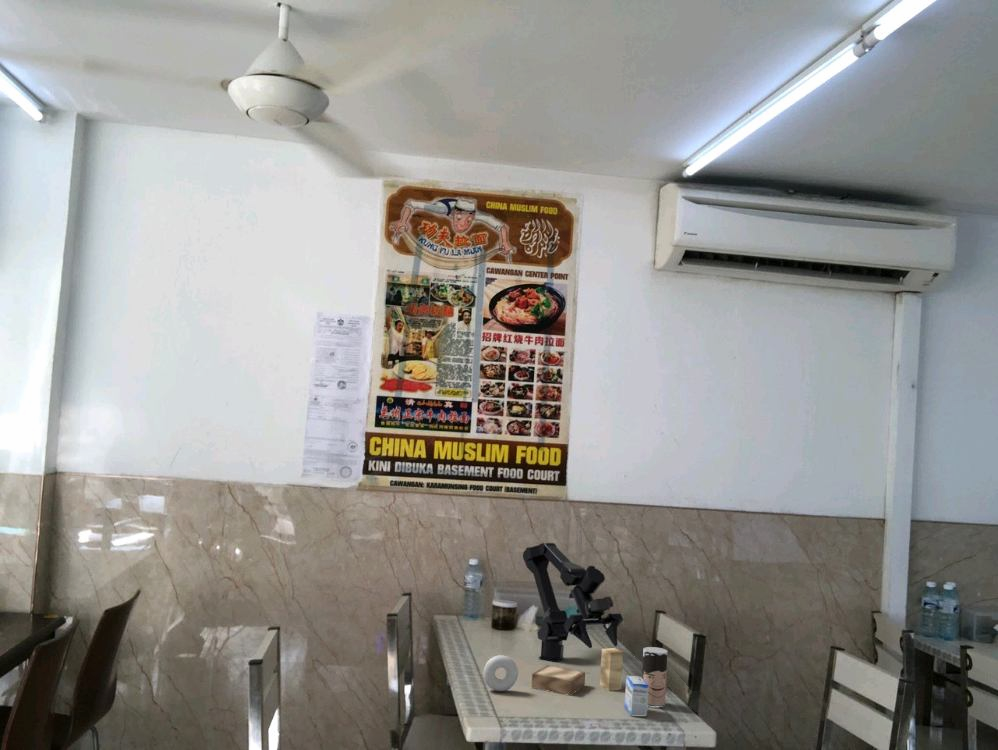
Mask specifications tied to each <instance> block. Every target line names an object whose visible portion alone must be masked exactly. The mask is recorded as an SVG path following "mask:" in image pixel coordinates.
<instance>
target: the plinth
mask: <svg viewBox="0 0 998 750" xmlns="http://www.w3.org/2000/svg"><path fill="white" fill-rule="evenodd" d="M531 676H532V677H531V687H535V688H539V689H538V690H540V689H544V690H543V691H545V690H549V691H548V692H550V691H553V692H552V693H555V692H560V693H564V694H563V695H565V694H568V695H567V696H572V695H573V694H575V693H576V692H578V691H579V690H581V689H582V688H584V687H585V686H584V685H586V671H582V670H576V669H571V668H566V667H560V666H554V665H549V664H548V665H547V664H546V665H545V666H544V667H542V668H540V669H538V670H536V671H535V672H533V673H532V674H531ZM583 686H584V687H583ZM581 687H582V688H581ZM535 688H534V689H535ZM580 688H581V689H580ZM578 689H579V690H578ZM577 690H578V691H577ZM575 691H576V692H575ZM574 692H575V693H574ZM560 693H559V694H560ZM572 693H573V694H572ZM571 694H572V695H571Z"/></svg>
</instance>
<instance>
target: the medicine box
mask: <svg viewBox="0 0 998 750" xmlns="http://www.w3.org/2000/svg"><path fill="white" fill-rule="evenodd" d="M625 677H626V678H625V693H624V705H623V707H624V709H625V708H626V709H627V710H626V709H625V710H626V711H627V712H628V714H629V713H630V714H631V715H647V716H648V707H647V704H648V688H649V686H648V684H647V683H646V682H645V681H644V680H643V678H642V676H637V675H626V676H625ZM630 714H629V715H630ZM631 715H630V716H631Z"/></svg>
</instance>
